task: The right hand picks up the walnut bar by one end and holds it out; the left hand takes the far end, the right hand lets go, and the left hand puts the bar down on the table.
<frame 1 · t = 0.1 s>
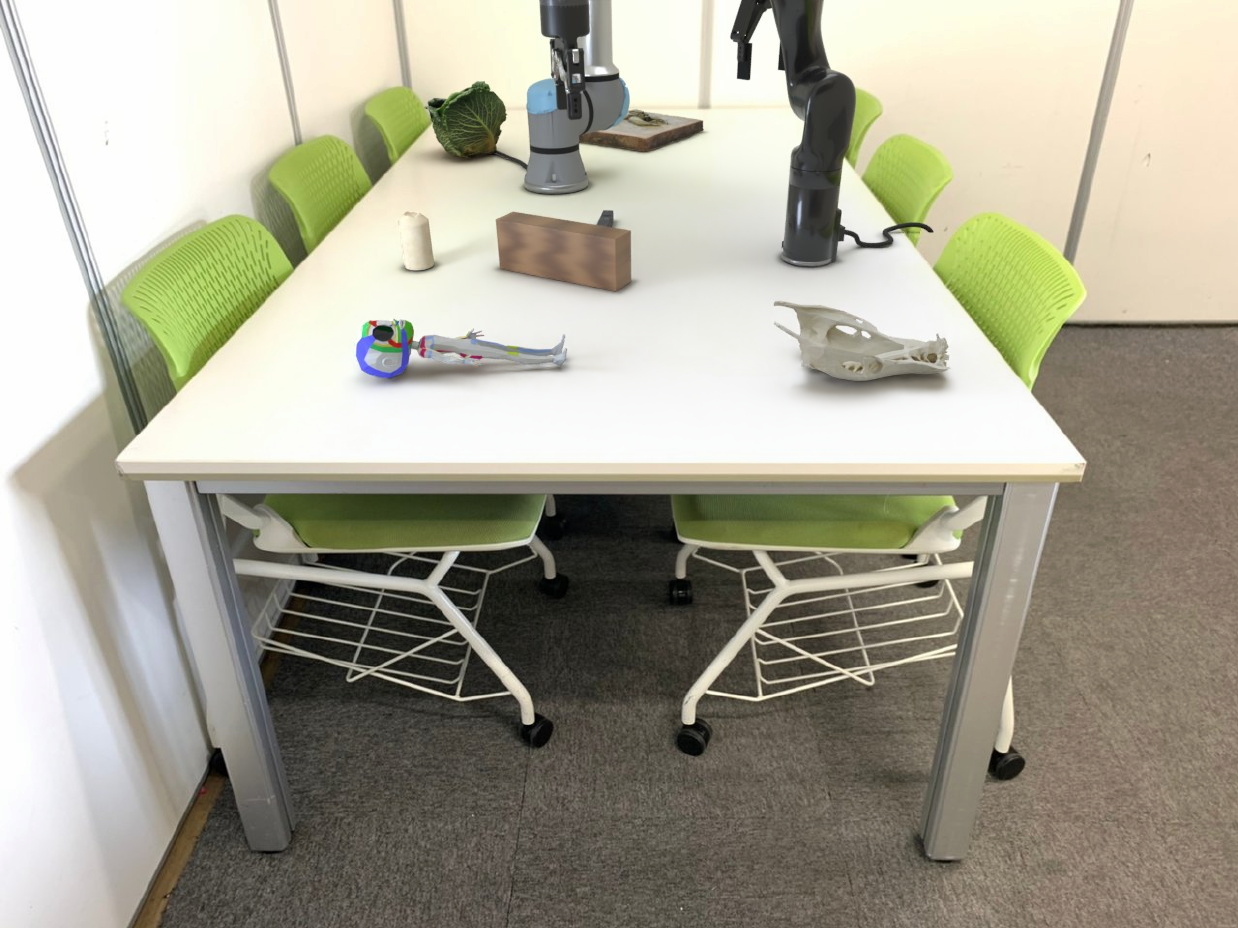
left hand: (764, 75, 179), 28 cm above the table, tool pointing down, fingers open, 13 cm apart
right hand: (569, 114, 144), 29 cm above the table, tool pointing down, fingers open, 8 cm apart
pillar: (602, 236, 183), on the table
vegetable: (470, 155, 242), on the table
bar: (564, 275, 164), on the table
candle: (419, 266, 169), on the table
toy: (464, 369, 132), on the table
plaque: (633, 136, 259), on the table
anatomical model: (856, 371, 129), on the table
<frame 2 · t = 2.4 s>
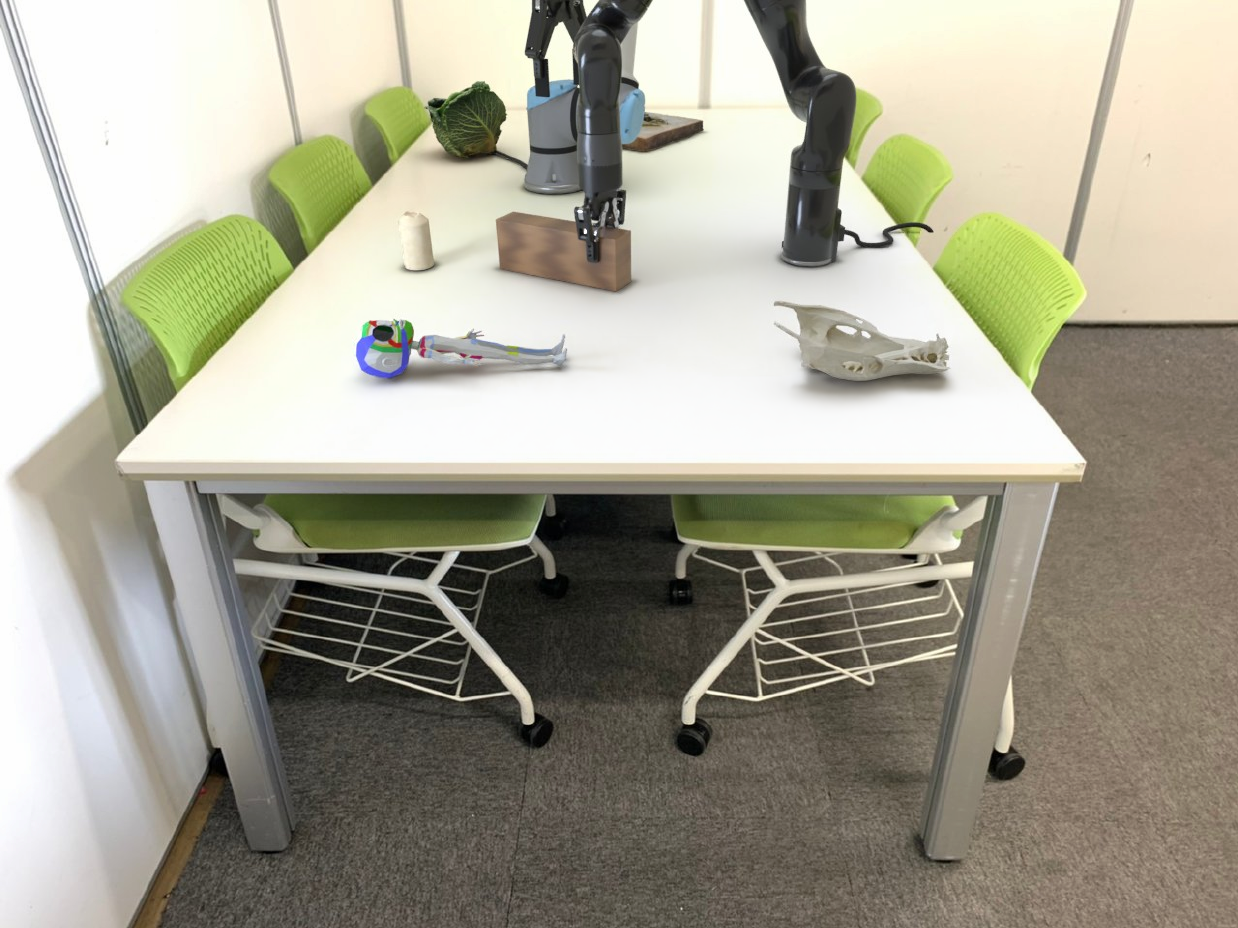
left hand: (562, 91, 172), 27 cm above the table, tool pointing down, fingers open, 13 cm apart
right hand: (602, 256, 158), 5 cm above the table, tool pointing down, fingers closed on bar, 5 cm apart
bar: (564, 275, 164), on the table, touching right hand
everything else where it was.
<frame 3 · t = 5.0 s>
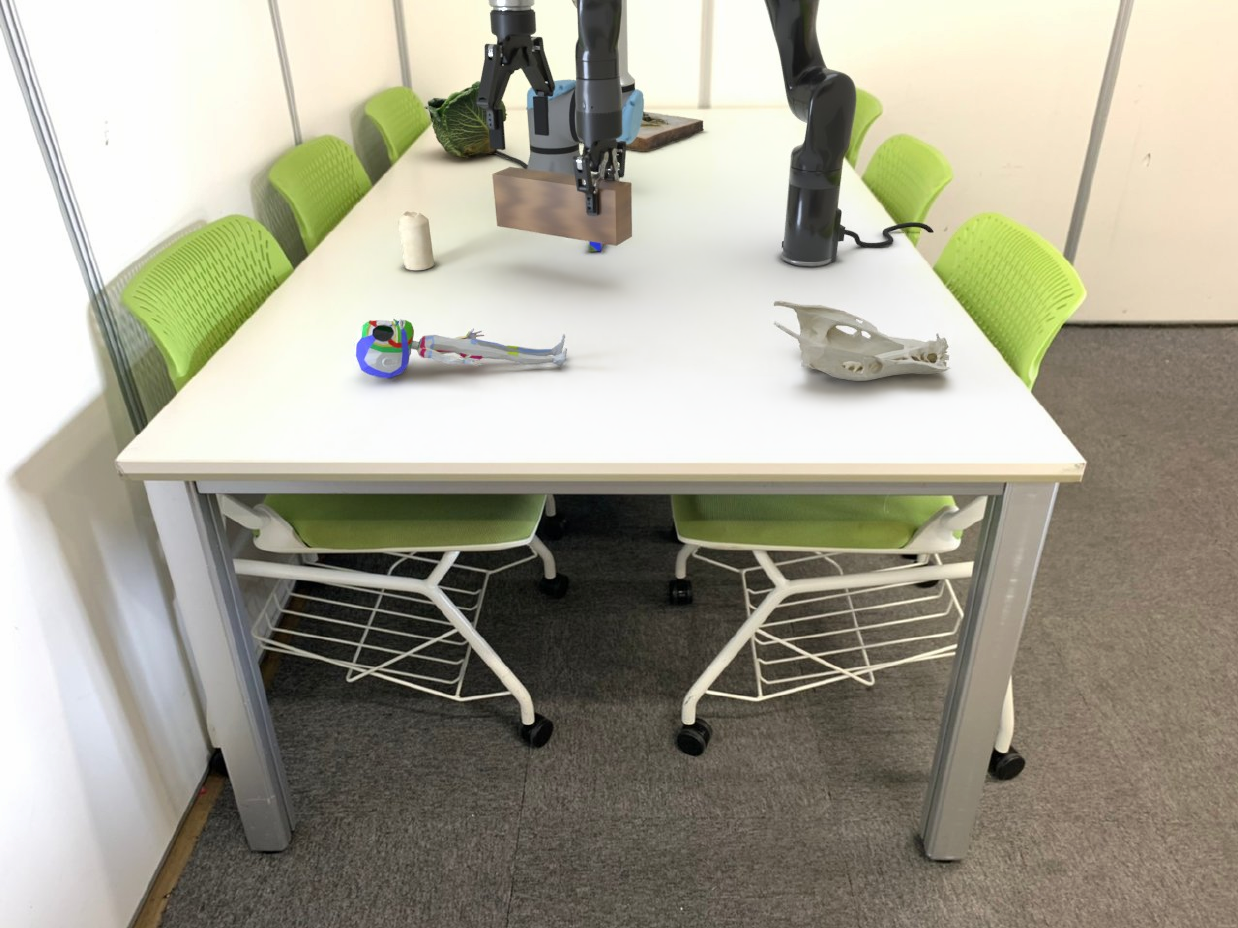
left hand: (520, 142, 160), 22 cm above the table, tool pointing down, fingers open, 13 cm apart
right hand: (602, 210, 154), 13 cm above the table, tool pointing down, fingers closed on bar, 5 cm apart
bar: (563, 231, 160), point 8 cm above the table, touching right hand
everything else where it was.
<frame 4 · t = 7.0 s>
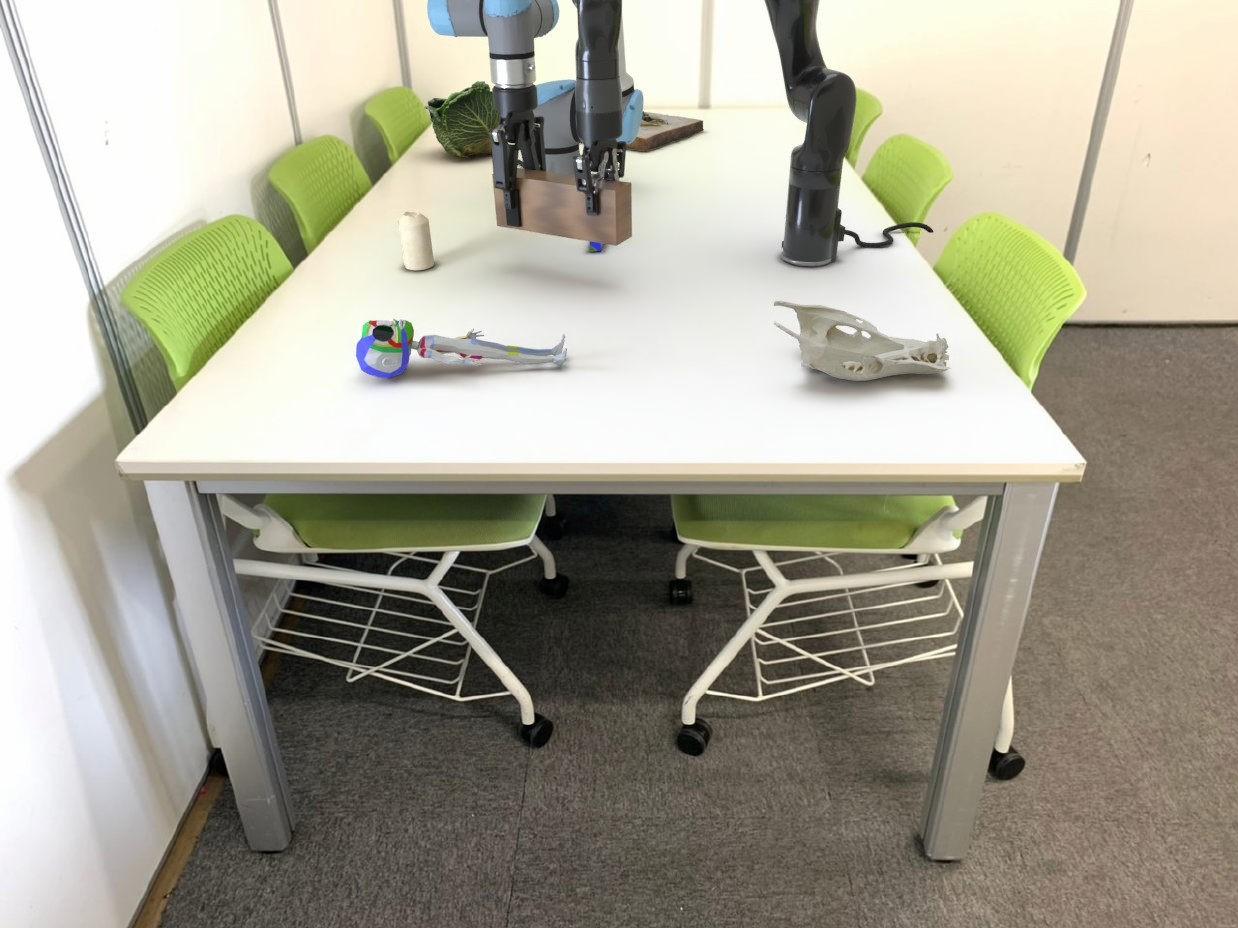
left hand: (524, 220, 163), 9 cm above the table, tool pointing down, fingers closed on bar, 5 cm apart
right hand: (601, 210, 154), 13 cm above the table, tool pointing down, fingers closed on bar, 5 cm apart
bar: (563, 231, 160), point 8 cm above the table, touching left hand, right hand
everything else where it was.
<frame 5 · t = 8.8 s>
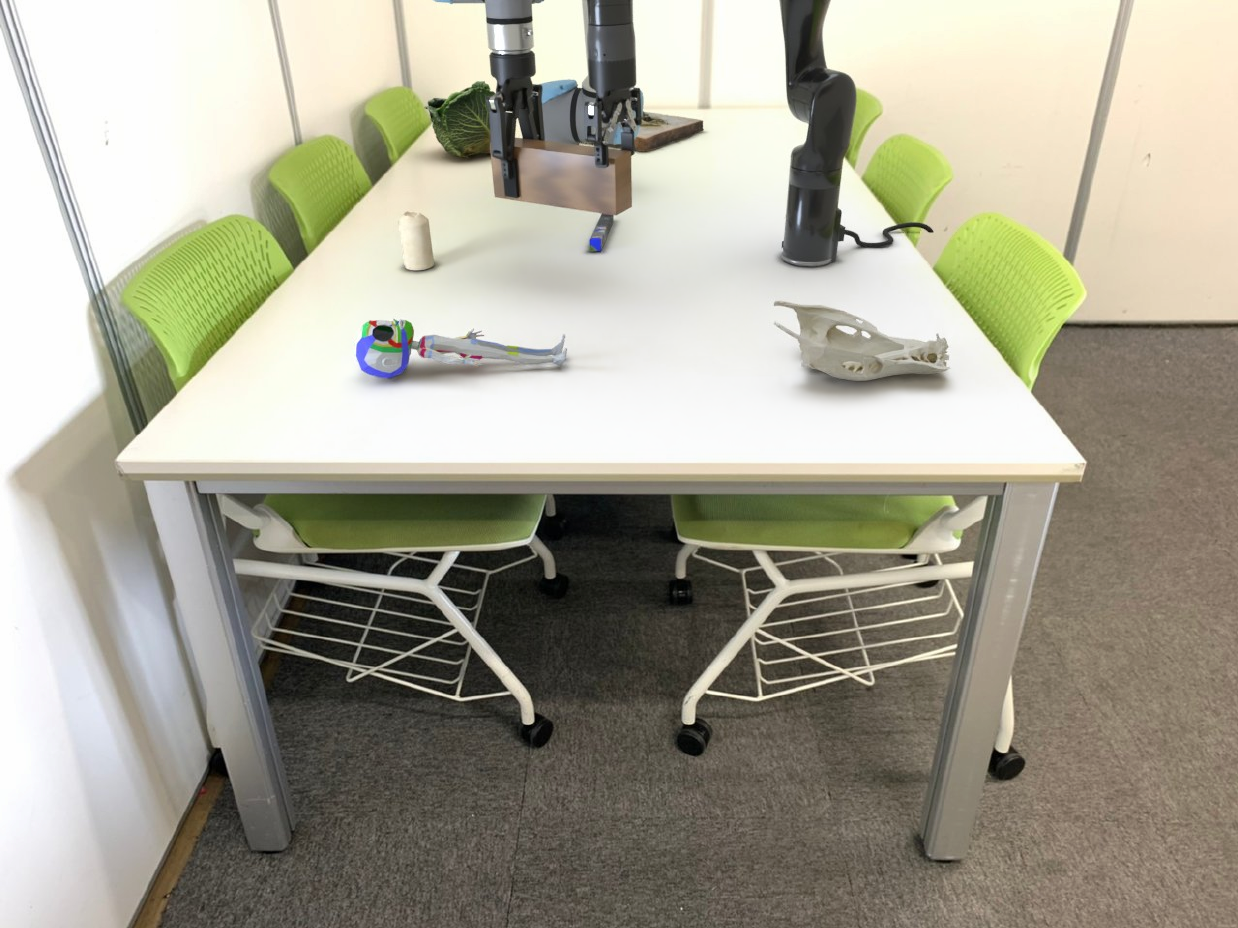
left hand: (522, 191, 160), 14 cm above the table, tool pointing down, fingers closed on bar, 5 cm apart
right hand: (615, 161, 148), 21 cm above the table, tool pointing down, fingers open, 8 cm apart
bar: (561, 202, 157), point 13 cm above the table, touching left hand
everything else where it was.
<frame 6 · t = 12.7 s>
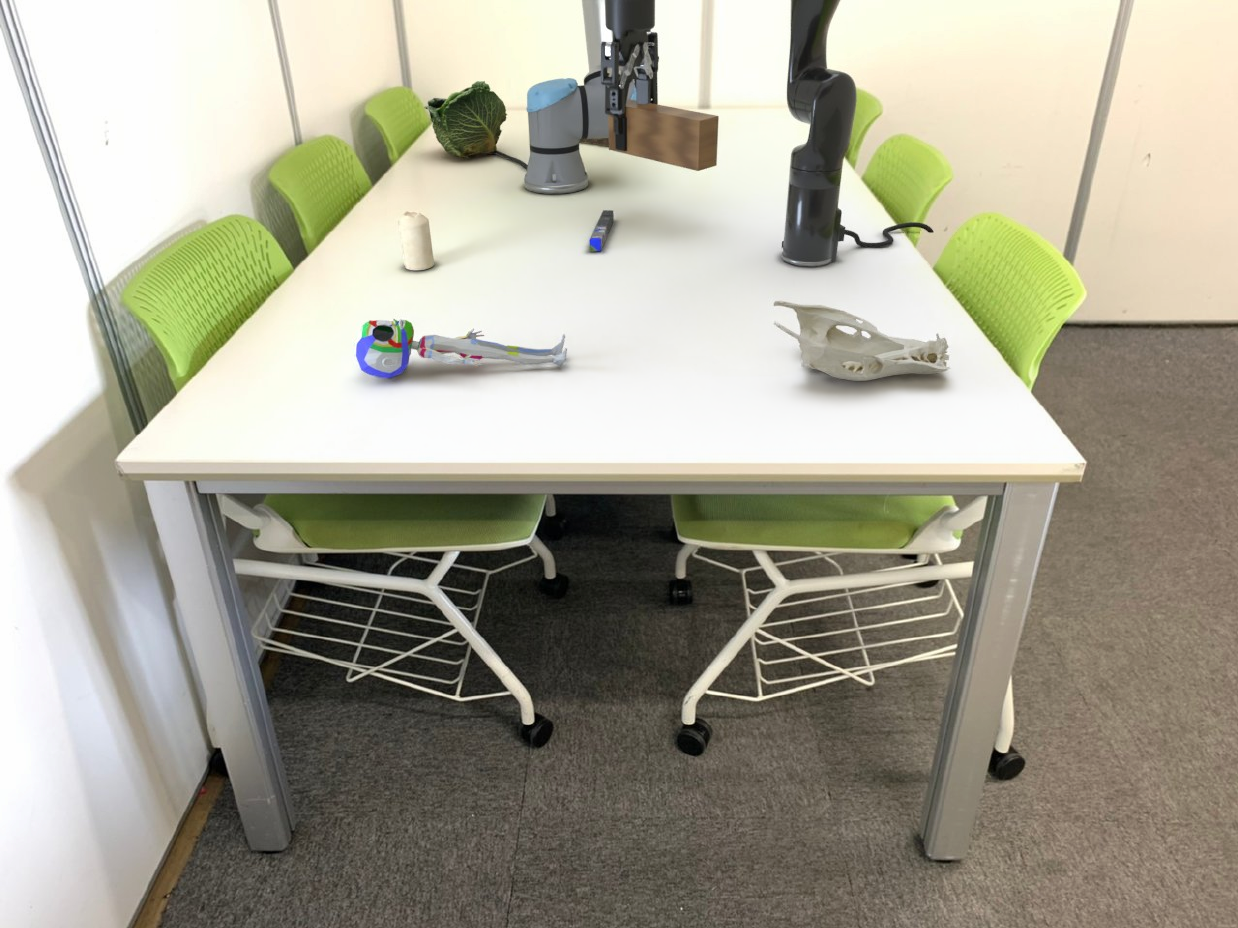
left hand: (631, 147, 187), 14 cm above the table, tool pointing down, fingers closed on bar, 5 cm apart
right hand: (630, 108, 142), 30 cm above the table, tool pointing down, fingers open, 8 cm apart
bar: (660, 157, 183), point 13 cm above the table, touching left hand
everything else where it was.
when the left hand's fingers open (2 cm above the table, at t = 18.6 s): bar stays where it is, on the table.
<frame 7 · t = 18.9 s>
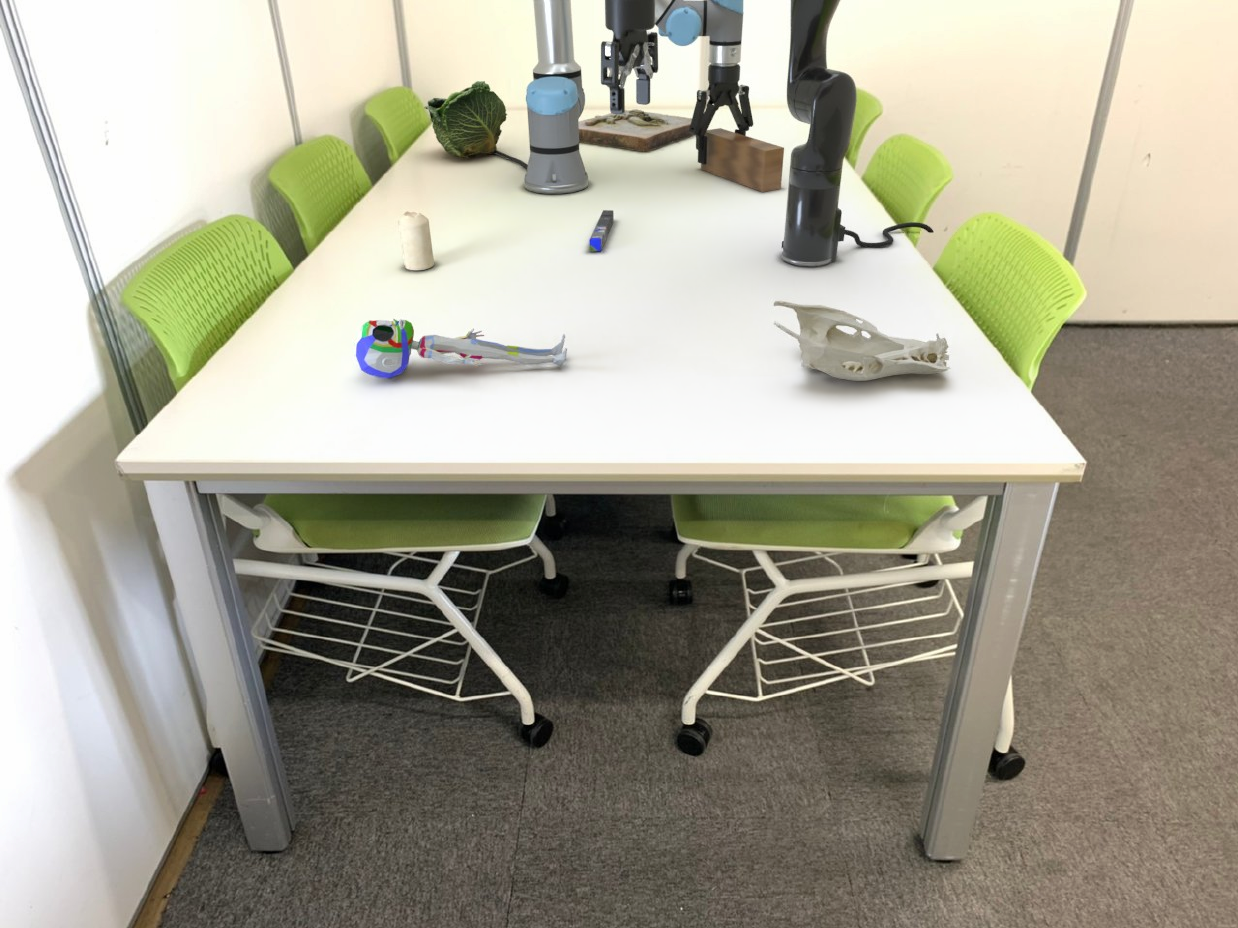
left hand: (720, 160, 223), 3 cm above the table, tool pointing down, fingers open, 10 cm apart
right hand: (630, 108, 142), 30 cm above the table, tool pointing down, fingers open, 8 cm apart
bar: (739, 178, 218), on the table
everything else where it was.
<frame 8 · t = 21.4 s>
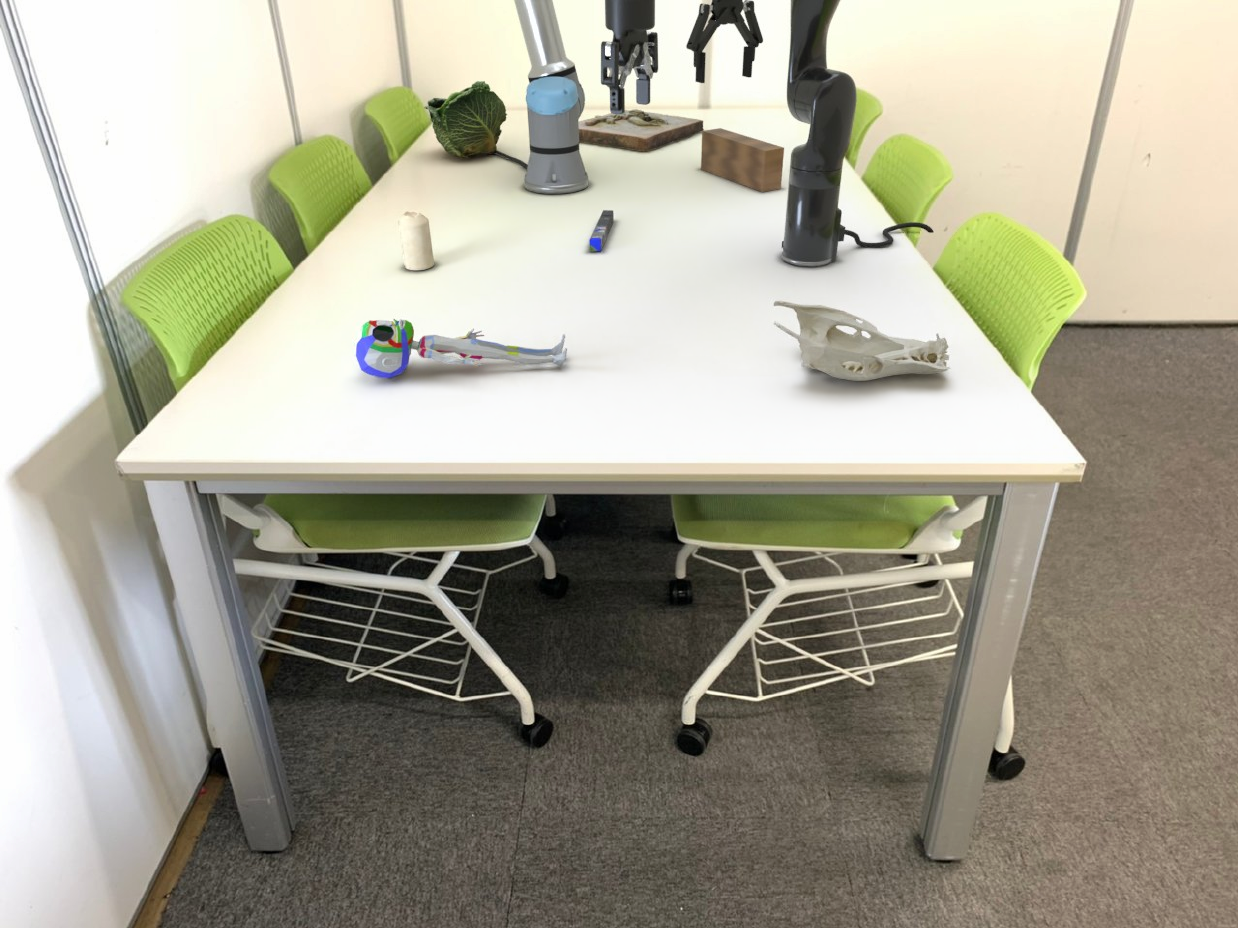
left hand: (723, 79, 213), 21 cm above the table, tool pointing down, fingers open, 13 cm apart
right hand: (630, 108, 142), 30 cm above the table, tool pointing down, fingers open, 8 cm apart
nothing on the table moved.
at the end: bar inside the target area (8.3 cm from its centre), on the table; the left hand is holding nothing; the right hand is holding nothing; bar at rest at the end (0.0 cm/s) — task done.
